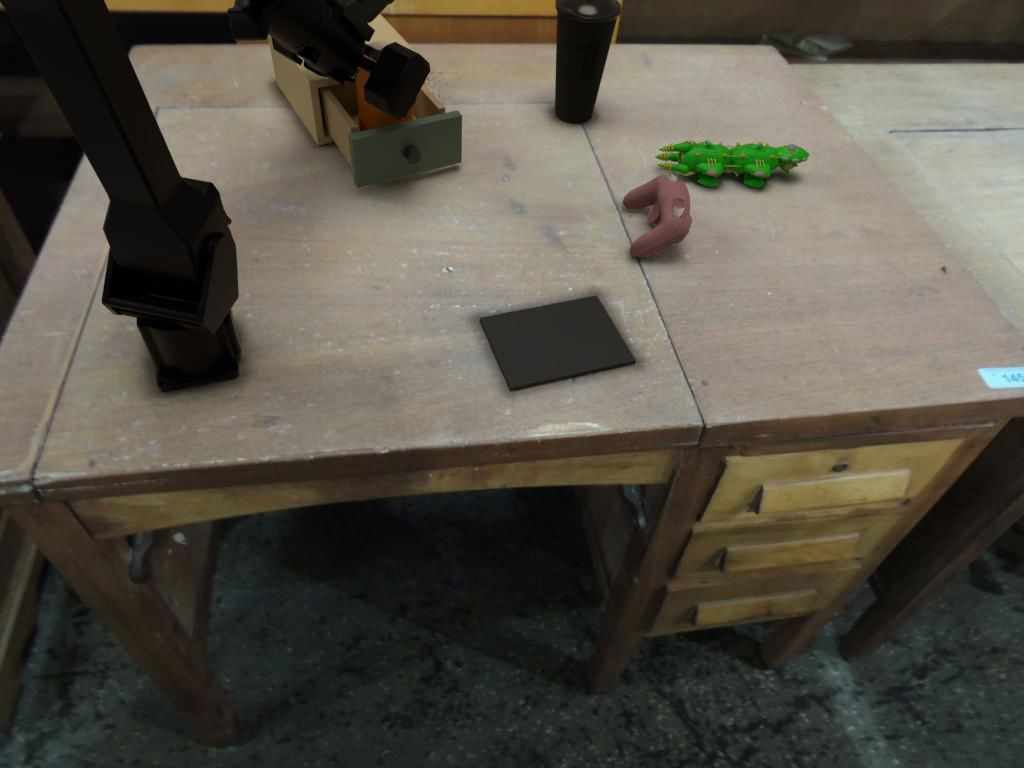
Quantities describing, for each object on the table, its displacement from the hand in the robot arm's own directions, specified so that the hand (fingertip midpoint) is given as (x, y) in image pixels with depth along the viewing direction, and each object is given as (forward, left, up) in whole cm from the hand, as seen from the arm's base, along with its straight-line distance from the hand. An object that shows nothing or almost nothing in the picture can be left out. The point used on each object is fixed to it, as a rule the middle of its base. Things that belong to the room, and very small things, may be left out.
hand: (394, 91), depth 82 cm
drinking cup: (+24, +3, -7) cm, 25 cm away
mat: (+7, -35, -7) cm, 36 cm away
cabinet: (-3, +12, -7) cm, 14 cm away
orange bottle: (-1, -1, -5) cm, 5 cm away
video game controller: (+23, -22, -7) cm, 33 cm away
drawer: (-1, -1, -6) cm, 6 cm away
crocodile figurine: (+37, -14, -7) cm, 40 cm away
